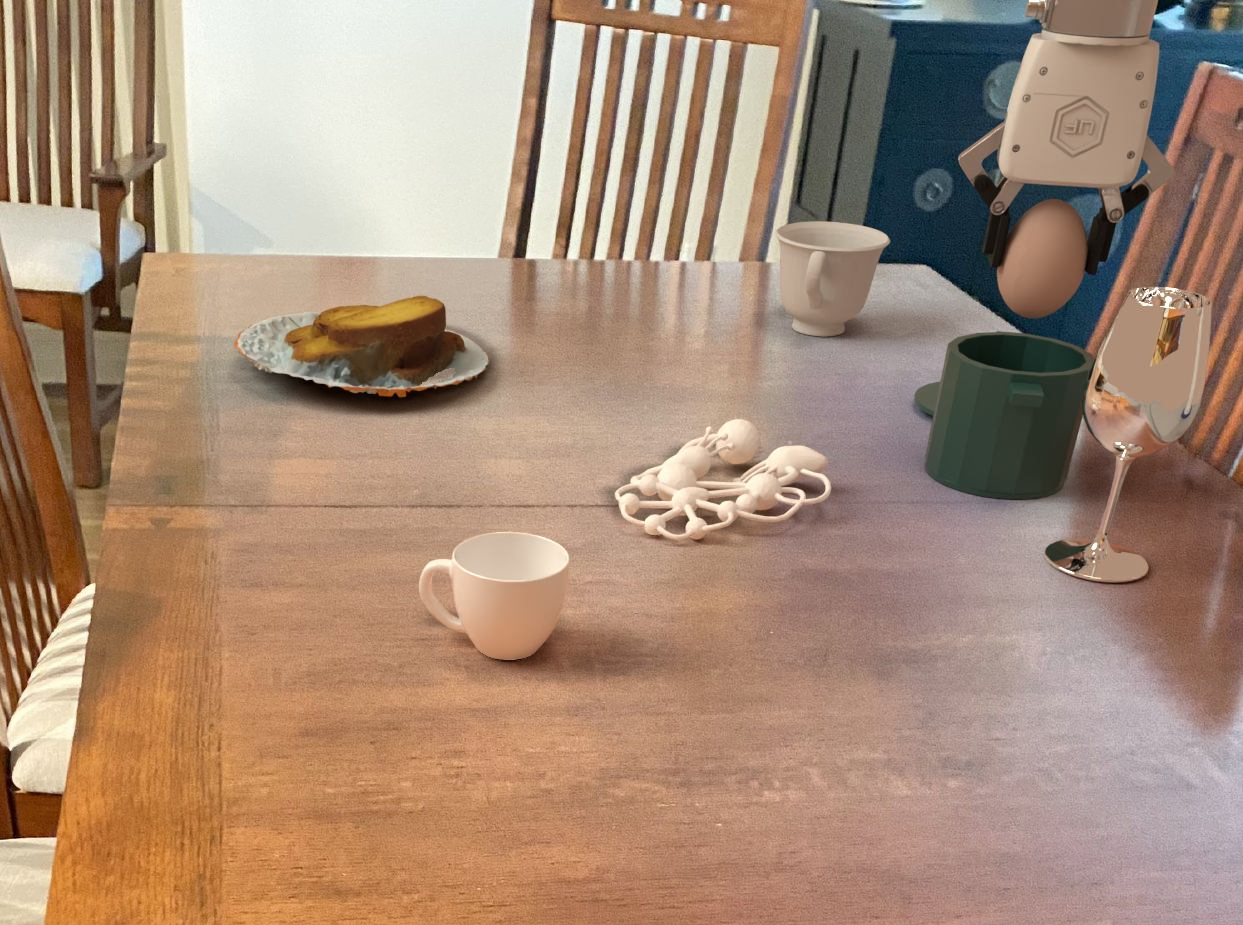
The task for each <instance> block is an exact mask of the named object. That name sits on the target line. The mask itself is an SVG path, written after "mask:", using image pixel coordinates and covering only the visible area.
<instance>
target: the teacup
mask: <svg viewBox="0 0 1243 925" xmlns="http://www.w3.org/2000/svg"><path fill="white" fill-rule="evenodd" d="M774 236H775V237H776V240H778V244H779V259H780V260H779V263H780V265H779V297H780V302H781V305H782V307H783V309H784V310H785V311H786V312H787V314H789V315H790V316H792V317H793V321H792V323H791V328H792V330H793V331H794V332H797V333H799V334H803V335H807V336H813V337H820V338H821V337H835V336H836V337H837V336H840V335H842V334H843V333H844V332H845V331H846V326H845V324H846V322H847V321H850V320H852V319H854V318H855V317H856V316H858V315H859V314H860V313H861V311H862V310H863V309H864V306H865V305H866V302H867V299H868V297H869V293H870V291H871V287H872V285H873V284H872V283H873V280H874V277H875V273H876V270H877V266H878V263H879V261H880V257H881V255H882V253H883V251H884V249H885V248H887V246H889V244H890V243H891V239H890V238H889V236H888V235H887V234H886V233H884V232H883V231H881V230H878V229H875V228H874V227H873V228H872V227H869V226H864V225H860V224H853V223H847V222H838V221H819V220H817V221H799V222H793V223H788V224H785V225H782V226H780V227H778V228H777V229H776V230H775V231H774Z"/></svg>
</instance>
